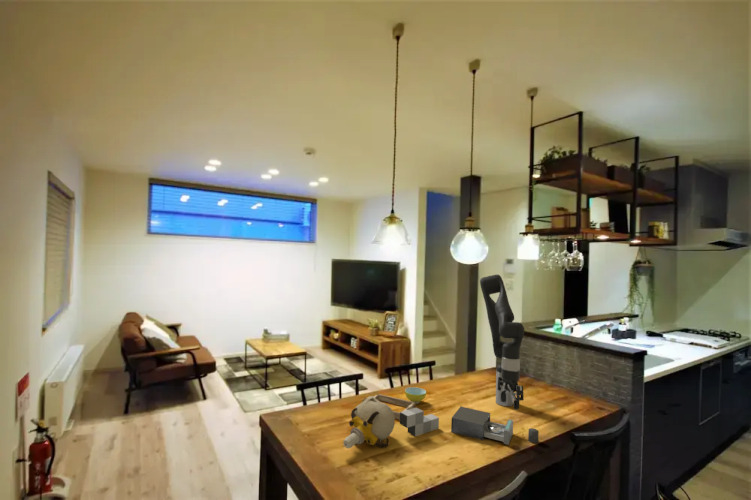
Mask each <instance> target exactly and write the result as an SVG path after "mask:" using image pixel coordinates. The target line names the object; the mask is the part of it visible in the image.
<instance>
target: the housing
mask: <svg viewBox="0 0 751 500" xmlns="http://www.w3.org/2000/svg"><path fill="white" fill-rule="evenodd" d="M486 421H490V422H491V412H488V411H483V410H479V409H474V408H469V407H464V406H460V407H459V408H458V409H457V411H456V412H455V413H453V415H452V416H451V425H450V426H451V428H450V429H451V431H450V432H451V433H453V434H457V435H461V436H465V437H467V438H471V439H475V440H479V441H484V439H485V438H486V437H483V434H484V425H485V423H486Z"/></svg>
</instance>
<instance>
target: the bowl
mask: <svg viewBox="0 0 751 500" xmlns="http://www.w3.org/2000/svg"><path fill="white" fill-rule="evenodd" d="M404 393H405V397H406V398H407V399H408V401H411V402H415V405H418V404H420V402H422V401H423V400H424V399H425V398H426V395H427V391H426V389H424V388H422V387H416V386H415V387H413V386H411V387H406V388H405V389H404Z"/></svg>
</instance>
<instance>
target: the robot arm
mask: <svg viewBox="0 0 751 500" xmlns="http://www.w3.org/2000/svg"><path fill="white" fill-rule="evenodd" d="M479 283H480V289H481V292H482V296H483V300H484V303H485V307H486V313H487V319H488V323H489V328H490V329H489V330H490V332H491V341H492V346H493V347H492V348H493V353H494V356H495V357H496V358H497V359H501V363H499V364H497V366H496V370H495V373H496V375H495V404H497V405H500V406H503V407H512V406H513V410H519V409H520V402H521V401H524V386H523V385H519V383H518V381H520V379H521V378H520V375H521V374H520V373H521V372H520V371H521V364H520V363H521V362H520V361H521V360H520V349H521V346H522V342H523V338H524V335H525V327H524V325H523V323H521V322H517V321H514V320H515V314H514V312H513V310H512V307H511V305H510V302H509V299H508V295H507V294H508V293H507V290H506V287H505V283H504V280H503V278H502V276H501V275H500V274H493V275H487V276H484V277H482V278H480V280H479ZM498 293H499V294H498ZM493 294H498V297H497V299H496V302H495V300H493V298H492V297H491V295H493ZM501 338H503V339H512V340H511V341H510V342H507V341H503V340H501Z"/></svg>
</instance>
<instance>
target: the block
mask: <svg viewBox="0 0 751 500" xmlns="http://www.w3.org/2000/svg"><path fill="white" fill-rule="evenodd" d="M399 413H400V420H399V425H401V426H403V427H405V428H406V429H407V434H410V435H411V436H412V437H417V436H420V435H423V434H427V433H429V432H432V431H435V430H438V429H439V427H440V424H439V423H440V417H438V416H436V415H434V414H432V413H429V414H427V415H425V412H424V410H422V409H420V408H418V407H415V408H413V409H409V410H406V411H404V410H402V411H399Z"/></svg>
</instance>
